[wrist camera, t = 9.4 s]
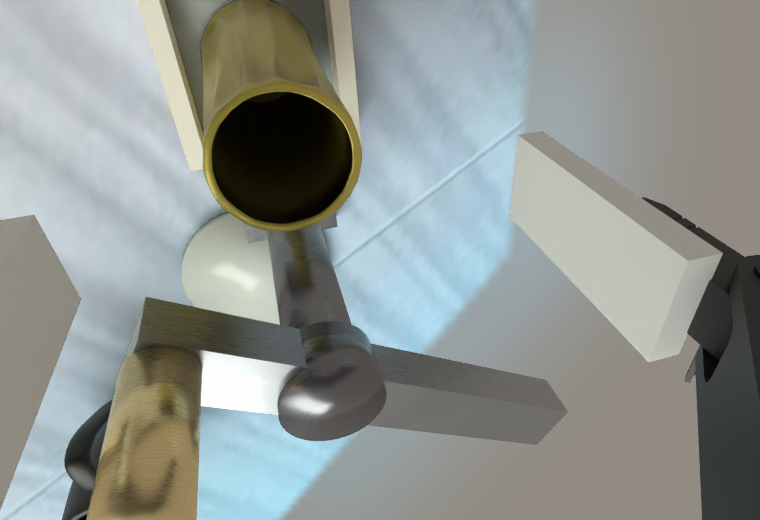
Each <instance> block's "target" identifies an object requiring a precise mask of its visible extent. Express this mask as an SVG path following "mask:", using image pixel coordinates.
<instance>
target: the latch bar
mask: <svg viewBox="0 0 760 520" xmlns="http://www.w3.org/2000/svg"><path fill="white" fill-rule="evenodd" d="M201 406H207V407H215V408H224V409H232V410H241V411H250V412H258V413H267V414H276V415H279V421H280V423H281V425H282V427H283V428H284V429H285V430H286V431H287V432H288V433H290V434H291V435H293V436H295V437H298V438H300V439H304V440H310V441H327V440H333V439H338V438H342V437H345V436H348V435H350V434H353V433H355V432H357V431H359V430H361V429H362V428H364V427H365V426H367V425H371V426H379V427H388V428H397V429H406V430H414V431H423V432H431V433H440V434H449V435H457V436H466V437H474V438H484V439H492V440H500V441H509V442H518V443H527V444H535V445H536V444H538V443H539V442H540V441H541V440H542V439H543V438H544V436H545V435H546V434H547V433H548V432H549V431H550V430H551V429H552V428H553V427H554V426H555V425H556V424H557V423H558V422H559V421H560V420H561V419H562V417H564V416H565V414H566V413H567V412H568V411H567V410H566V408H565V407H564V405H563V404H562V402H561V401H560V400H559V398H558V397H557V395H556V394H555V392H554V391H553V389H552V388H551V387H550V385H549V384H548V382H547V381H546V380H544V379H538V378H534V377H529V376H523V375H519V374H514V373H509V372H505V371H500V370H495V369H490V368H486V367H481V366H476V365H471V364H466V363H462V362H457V361H451V360H446V359H442V358H437V357H433V356H428V355H423V354H418V353H413V352H409V351H404V350H399V349H394V348H389V347H384V346H380V345H375V344H370V341H369V339H368V337H367V336H366V335H365V333H364V332H363V331H361V330H360V329H359V328H357V327H355V326H353V325H351V324H348V323H344V322H337V321H326V322H319V323H315V324H311V325H308V326H305V327H303V328H301V329H298V328H293V327H288V326H283V325H278V324H274V323H269V322H264V321H259V320H254V319H249V318H245V317H240V316H235V315H230V314H225V313H221V312H216V311H211V310H206V309H201V308H196V307H192V306H187V305H182V304H177V303H172V302H168V301H163V300H158V299H153V298H148V297H146V298H145V301H144V304H143V307H142V310H141V312H140V315H139V318H138V321H137V324H136V327H135V329H134V332H133V335H132V338H131V341H130V344H129V346H128V349H127V353H126V357H125V360H124V361H123V363H122V364H121V366H120V369H119V374H118V378H117V383H116V387H115V392H114V396H113V401H112V405H111V410H110V414H109V419H108V423H107V428H106V433H105V437H104V442H103V446H102V451H101V455H100V460H99V464H98V469H97V473H96V478H95V482H94V487H93V491H92V496H91V500H90V505H89V509H88V514H87V518H86V520H196V517H197V492H198V467H199V442H200V417H201Z"/></svg>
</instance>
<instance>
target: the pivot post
mask: <svg viewBox="0 0 760 520" xmlns="http://www.w3.org/2000/svg"><path fill="white" fill-rule="evenodd" d="M243 225H244V229H245V232H246V236H247V240H248V244H249V243H254V242H260V241H265V240H268V244H269V251H270V258H271V265H272V272H273V279H274V286H275V293H276V300H277V307H278V314H279V321H280V325H283V326H288V327H293V328H298V329H301V328H303V327H305V326H308V325H311V324H315V323H319V322H326V321H337V322H344V323H348V324H351V322H350V319H349V315H348V312H347V309H346V306H345V303H344V300H343V296H342V293H341V290H340V287H339V284H338V281H337V277H336V274H335V271H334V268H333V265H332V262H331V258H330V255H329V252H328V249H327V246H326V243H325V239H324V236H323V233H322V230H323V229H328V228H333V227H337V221H336V213H335V212H334V213H333V214H332V215H331V216H329V217H328V218H326V219H325V220H323V221H321V222H319V223H317V224H315V225H312V226H309V227H306V228H302V229H299V230H295V231H289V232H274V231H266V230H261V229H257V228H254V227H251V226H249V225H247V224H245V223H243Z"/></svg>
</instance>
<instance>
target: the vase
mask: <svg viewBox="0 0 760 520" xmlns="http://www.w3.org/2000/svg"><path fill="white" fill-rule="evenodd" d="M201 61H202V68H203V78H204V92H203V95H204V105H203V109H204V111H203V126H204V132H203V139H202V145H203V172H204V176H205V179H206V181H207V183H208V185H209V187H210V189H211V191H212V193H213V195H214V197H215V199H216V200H217V202H218V203H219V204H220V205H221V207H222V208H224V209H225V210H226V211H227V212H229V213H230V214H231V215H233V216H234V217H236V218H237V219H239V220H240V221H242V222H243V223H245V224H247V225H249V226H251V227H254V228H257V229H261V230H266V231H274V232H289V231H295V230H299V229H302V228H306V227H309V226H312V225H315V224H317V223H319V222H321V221H323V220H325V219H326V218H328V217H329V216H331V215H332V214H333V213H334V212H335V211H337V210H338V209H339V208H340V207H341V206H342V205H343V203H344V202H345V201H346V200H347V199H348V198H349V197H350V195H351V193H352V191H353V189H354V187H355V185H356V183H357V182H358V177H359V173H360V168H361V161H362V149H361V143H360V139H359V136H358V133H357V130H356V127H355V125H354V122H353V120H352V118H351V116H350V114H349V112H348V111H347V109H346V108H345V106H344V105H343V103H342V101H341V100H340V98H339V97H338V95H337V93H336V92H335V90H334V88H333V87H332V85H331V83H330V82H329V80H328V78H327V76H326V74H325V72H324V70H323V68H322V66H321V65H320V63H319V61H318V59H317V57H316V55H315V53H314V51H313V48H312V44H311V41H310V38H309V35H308V33H307V31H306V29H305V28H304V26H303V25H302V24H301V22H300V21H299V20H298V19H297V18H296V17H295V16H294V15H293V14H292V13H291V12H289V11H288V10H287V9H285V8H284V7H282V6H280V5H278V4H276V3H274V2H271V1H268V0H238V1H235V2H233V3H230V4H228V5H227V6H225V7H223V8H222V9H220V10H219V11H218V12H217V13H216V14H215V15H214V16H213V17H212V19H211V20H210V21H209V23H208V25H207V27H206V29H205V31H204V34H203V37H202V40H201Z"/></svg>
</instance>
